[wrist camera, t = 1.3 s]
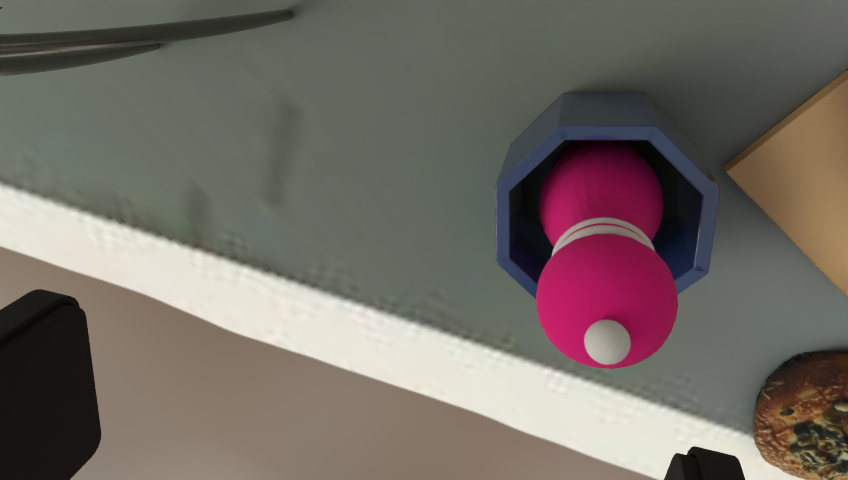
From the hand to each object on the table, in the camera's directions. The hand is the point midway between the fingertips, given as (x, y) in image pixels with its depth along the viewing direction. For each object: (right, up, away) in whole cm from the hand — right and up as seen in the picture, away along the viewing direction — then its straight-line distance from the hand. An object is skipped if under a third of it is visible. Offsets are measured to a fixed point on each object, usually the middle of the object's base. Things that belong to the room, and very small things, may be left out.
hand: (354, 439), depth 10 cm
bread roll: (+30, -9, +36) cm, 48 cm away
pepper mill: (+13, +7, +32) cm, 36 cm away
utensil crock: (+13, +7, +32) cm, 35 cm away
